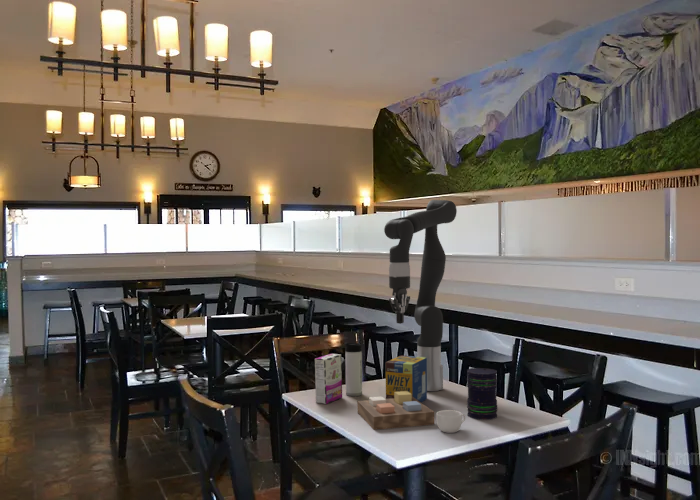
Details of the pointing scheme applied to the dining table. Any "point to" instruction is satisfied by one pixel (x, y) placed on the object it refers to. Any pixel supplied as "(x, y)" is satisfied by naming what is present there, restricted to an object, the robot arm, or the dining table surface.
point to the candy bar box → (328, 378)
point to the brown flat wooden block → (395, 415)
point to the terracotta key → (385, 408)
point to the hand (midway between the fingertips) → (400, 323)
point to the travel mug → (353, 369)
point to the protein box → (407, 376)
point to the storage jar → (482, 393)
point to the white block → (376, 400)
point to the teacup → (449, 420)
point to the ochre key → (402, 397)
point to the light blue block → (411, 406)
